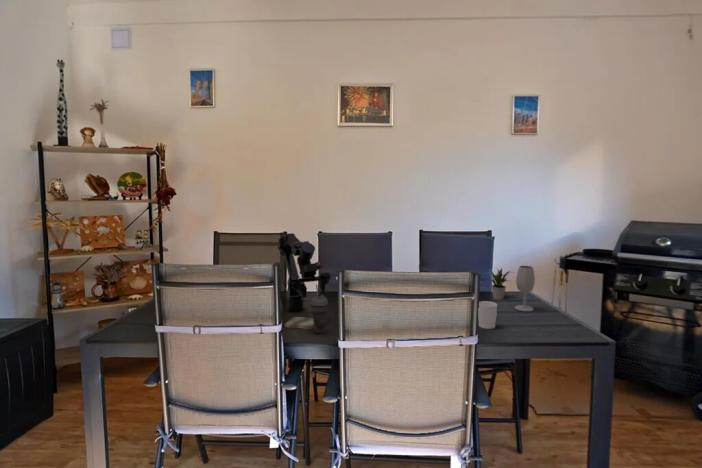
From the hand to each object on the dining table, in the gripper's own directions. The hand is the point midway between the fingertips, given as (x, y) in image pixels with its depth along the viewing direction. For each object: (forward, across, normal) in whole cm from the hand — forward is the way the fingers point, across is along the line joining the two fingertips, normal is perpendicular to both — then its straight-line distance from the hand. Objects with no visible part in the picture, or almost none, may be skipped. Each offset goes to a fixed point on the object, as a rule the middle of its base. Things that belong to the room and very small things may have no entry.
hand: (313, 296), depth 191 cm
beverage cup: (+15, 0, +4) cm, 15 cm away
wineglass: (+23, +100, -4) cm, 103 cm away
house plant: (+9, +104, +10) cm, 105 cm away
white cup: (+32, +67, -12) cm, 75 cm away
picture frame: (+6, -4, +13) cm, 15 cm away
